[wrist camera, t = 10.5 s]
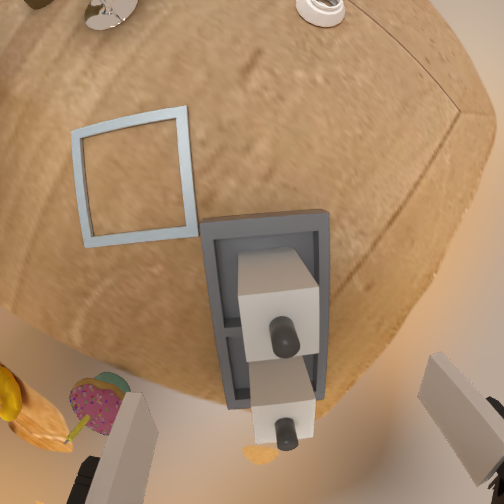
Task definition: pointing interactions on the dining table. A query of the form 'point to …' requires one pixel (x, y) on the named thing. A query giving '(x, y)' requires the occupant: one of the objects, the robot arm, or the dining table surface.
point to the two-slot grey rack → (226, 285)
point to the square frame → (185, 169)
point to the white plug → (281, 401)
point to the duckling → (9, 395)
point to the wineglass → (108, 13)
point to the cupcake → (97, 402)
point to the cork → (37, 3)
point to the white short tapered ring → (321, 12)
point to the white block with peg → (277, 304)
